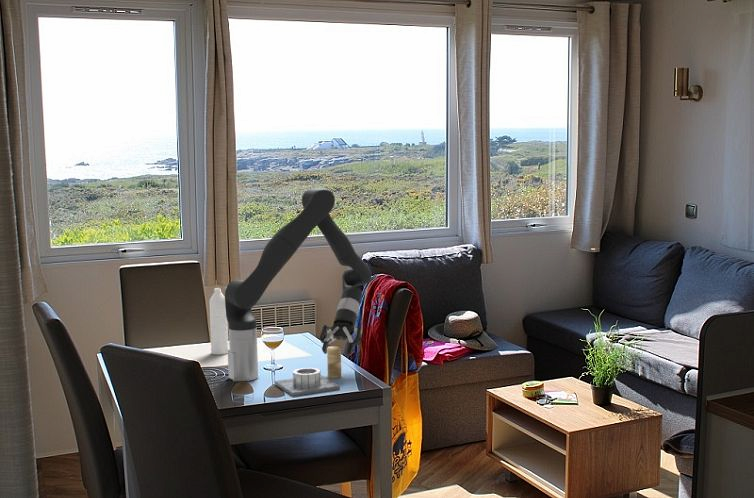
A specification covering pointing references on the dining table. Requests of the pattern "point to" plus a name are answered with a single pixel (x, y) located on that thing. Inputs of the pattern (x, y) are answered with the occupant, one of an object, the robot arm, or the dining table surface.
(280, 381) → the socket board
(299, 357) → the dining table surface
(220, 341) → the water bottle
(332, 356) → the plug
